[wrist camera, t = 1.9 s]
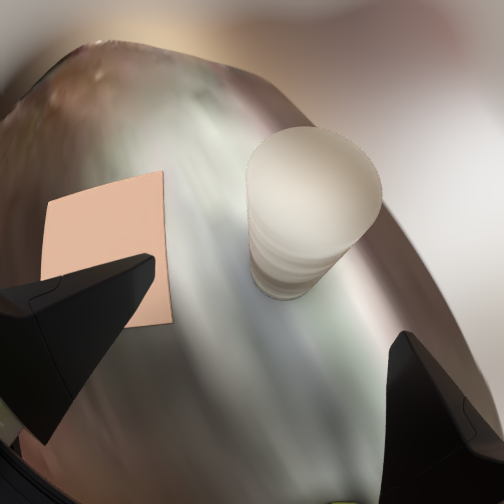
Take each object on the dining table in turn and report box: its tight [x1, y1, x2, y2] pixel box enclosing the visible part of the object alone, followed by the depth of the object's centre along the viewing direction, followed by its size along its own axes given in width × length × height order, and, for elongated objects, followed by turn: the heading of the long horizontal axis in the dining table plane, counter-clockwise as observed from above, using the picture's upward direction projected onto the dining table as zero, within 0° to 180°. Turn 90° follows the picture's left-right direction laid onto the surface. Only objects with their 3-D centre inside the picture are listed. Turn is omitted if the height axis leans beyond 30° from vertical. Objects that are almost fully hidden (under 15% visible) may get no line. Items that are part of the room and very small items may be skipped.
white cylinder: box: [246, 127, 382, 300], centre depth 15 cm, size 5×5×12 cm
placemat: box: [41, 171, 173, 328], centre depth 22 cm, size 13×13×1 cm
